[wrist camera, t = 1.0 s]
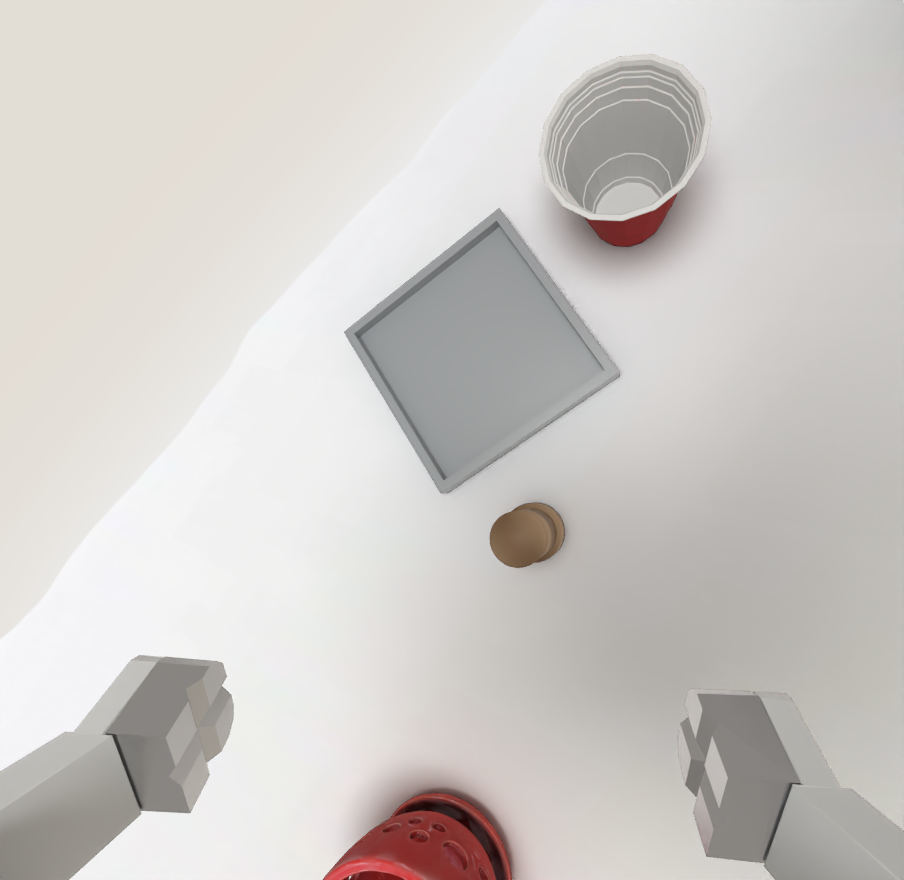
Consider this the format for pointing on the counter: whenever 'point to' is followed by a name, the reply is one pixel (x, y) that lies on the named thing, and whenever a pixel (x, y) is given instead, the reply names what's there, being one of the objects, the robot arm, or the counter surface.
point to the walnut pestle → (527, 535)
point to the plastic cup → (625, 144)
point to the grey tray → (478, 353)
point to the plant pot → (427, 845)
